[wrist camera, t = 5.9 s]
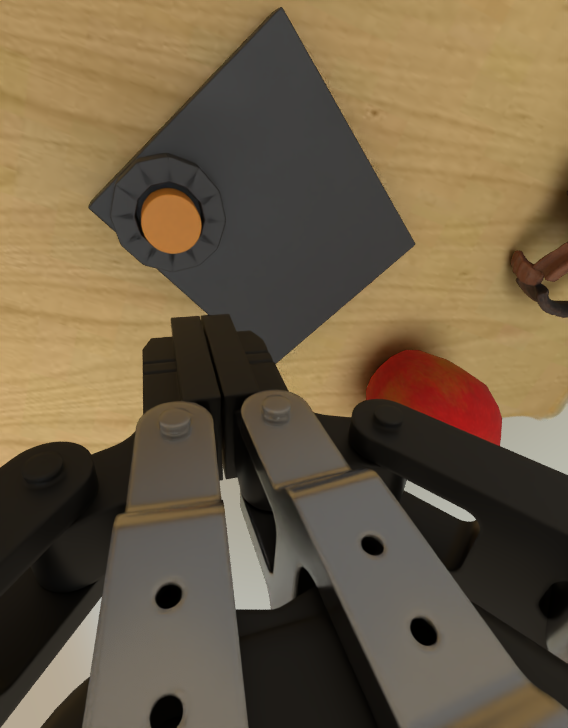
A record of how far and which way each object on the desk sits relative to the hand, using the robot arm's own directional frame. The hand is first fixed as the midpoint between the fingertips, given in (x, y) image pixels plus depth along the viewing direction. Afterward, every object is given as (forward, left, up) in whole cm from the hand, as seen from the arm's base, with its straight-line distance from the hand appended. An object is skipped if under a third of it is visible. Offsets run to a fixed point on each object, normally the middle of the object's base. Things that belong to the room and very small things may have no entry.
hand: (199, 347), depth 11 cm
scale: (+5, +4, -17) cm, 18 cm away
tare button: (0, 0, -14) cm, 14 cm away
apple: (+23, +4, -17) cm, 29 cm away
